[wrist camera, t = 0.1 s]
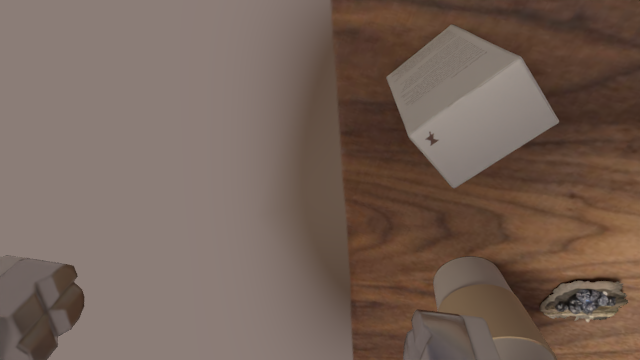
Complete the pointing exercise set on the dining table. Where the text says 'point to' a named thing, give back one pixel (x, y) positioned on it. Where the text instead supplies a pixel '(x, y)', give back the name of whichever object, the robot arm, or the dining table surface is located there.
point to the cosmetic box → (468, 103)
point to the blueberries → (585, 300)
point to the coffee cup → (490, 307)
